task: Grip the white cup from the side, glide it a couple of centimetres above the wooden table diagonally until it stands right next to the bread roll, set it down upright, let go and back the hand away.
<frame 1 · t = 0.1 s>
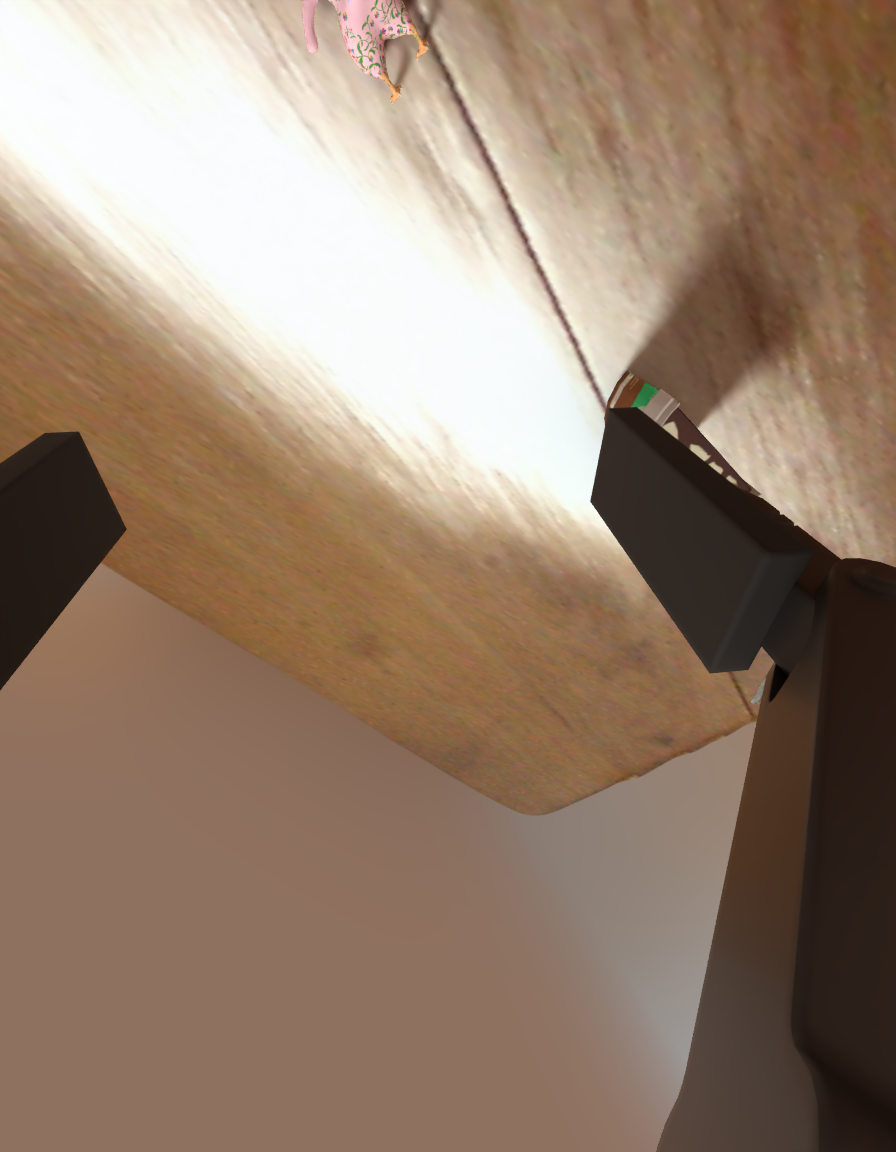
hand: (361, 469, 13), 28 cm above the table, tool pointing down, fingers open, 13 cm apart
food container: (630, 431, 43), on the table
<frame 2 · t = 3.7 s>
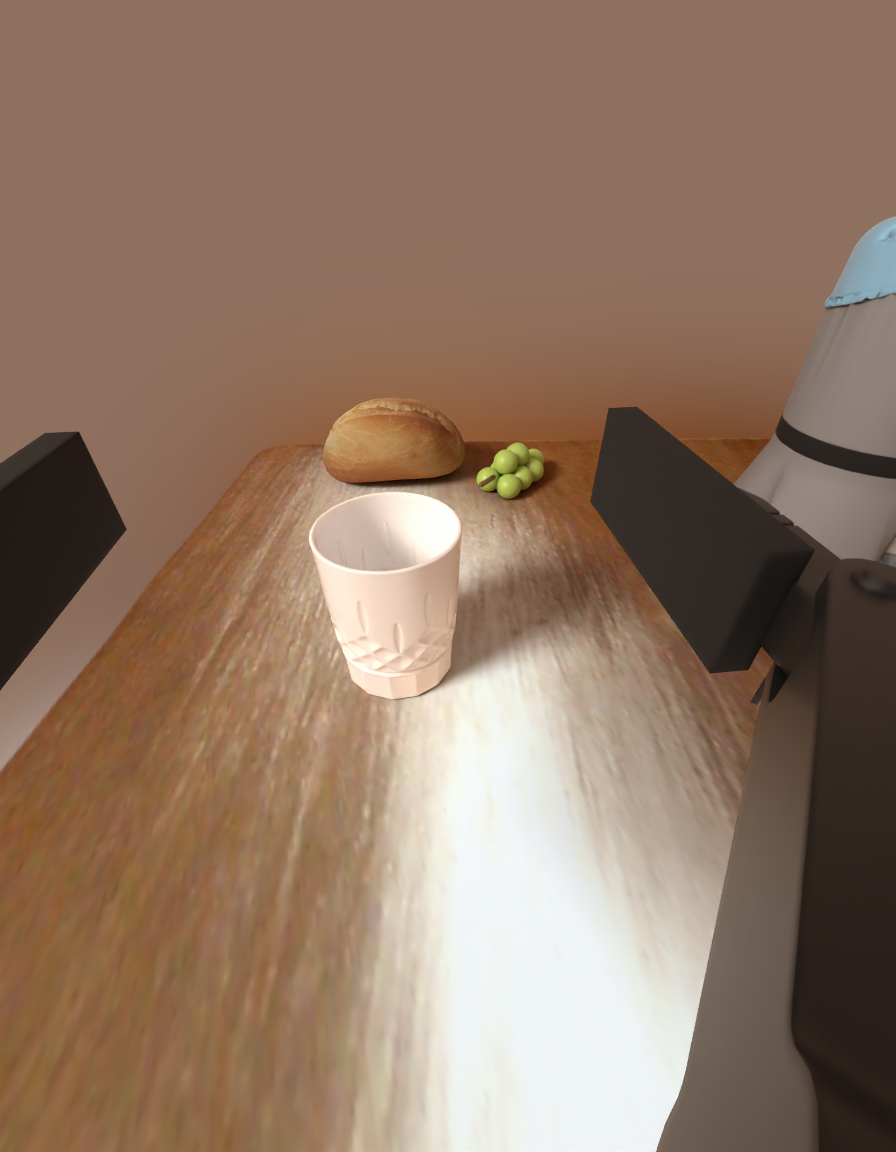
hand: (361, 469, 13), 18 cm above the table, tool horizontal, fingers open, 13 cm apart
bread roll: (396, 477, 52), on the table
white cup: (400, 660, 31), on the table
grapes: (515, 481, 51), on the table
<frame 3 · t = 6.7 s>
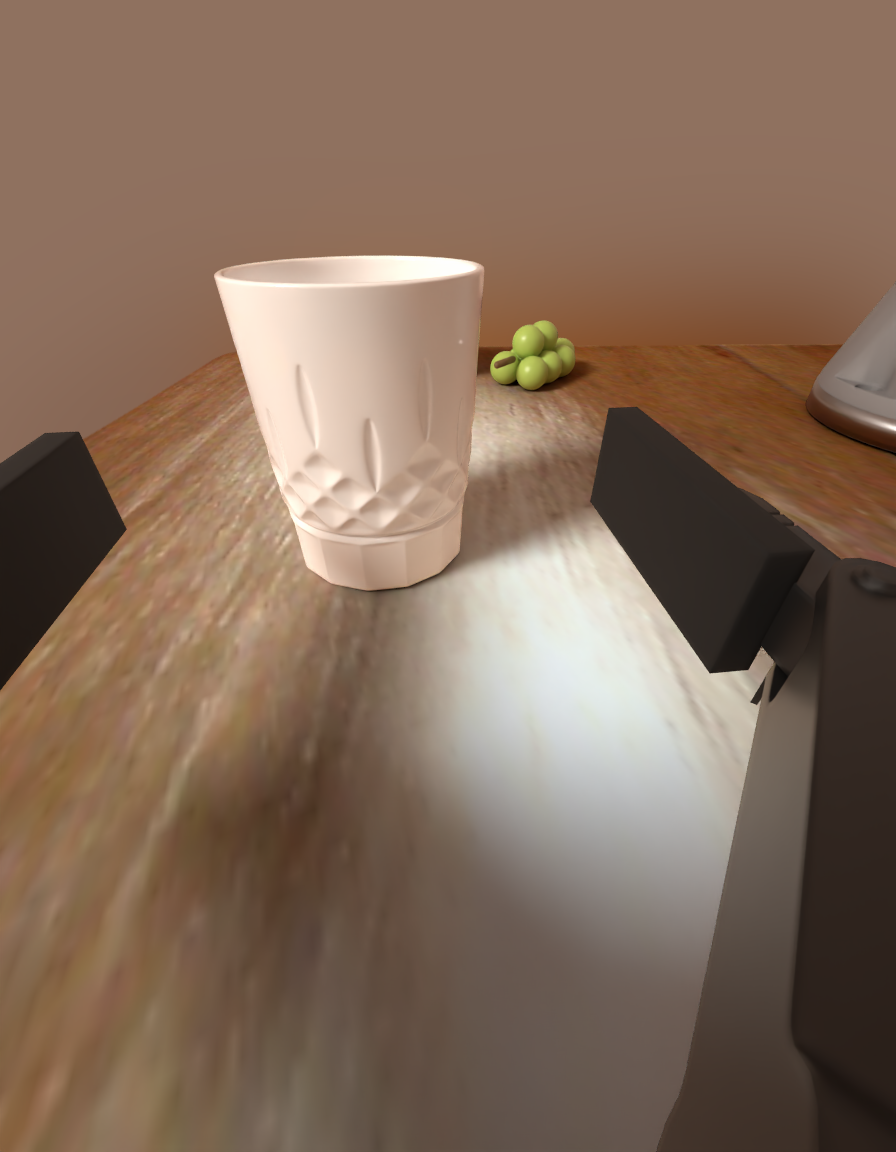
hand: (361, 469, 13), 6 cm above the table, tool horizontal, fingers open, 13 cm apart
white cup: (383, 546, 21), on the table
grapes: (538, 377, 40), on the table
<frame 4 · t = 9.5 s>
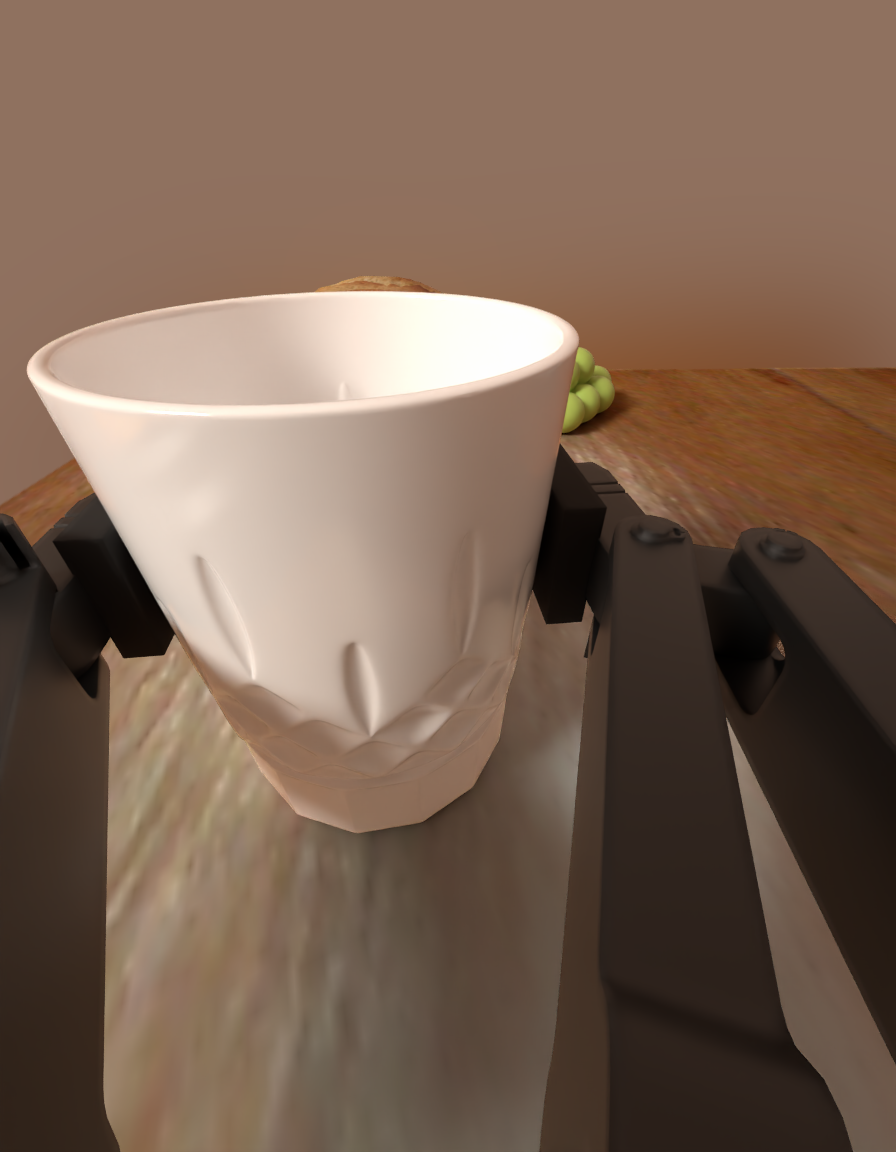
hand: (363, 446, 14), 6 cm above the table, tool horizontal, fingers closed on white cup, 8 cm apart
bread roll: (388, 409, 35), on the table
white cup: (383, 718, 14), on the table, touching gripper
grapes: (568, 413, 33), on the table
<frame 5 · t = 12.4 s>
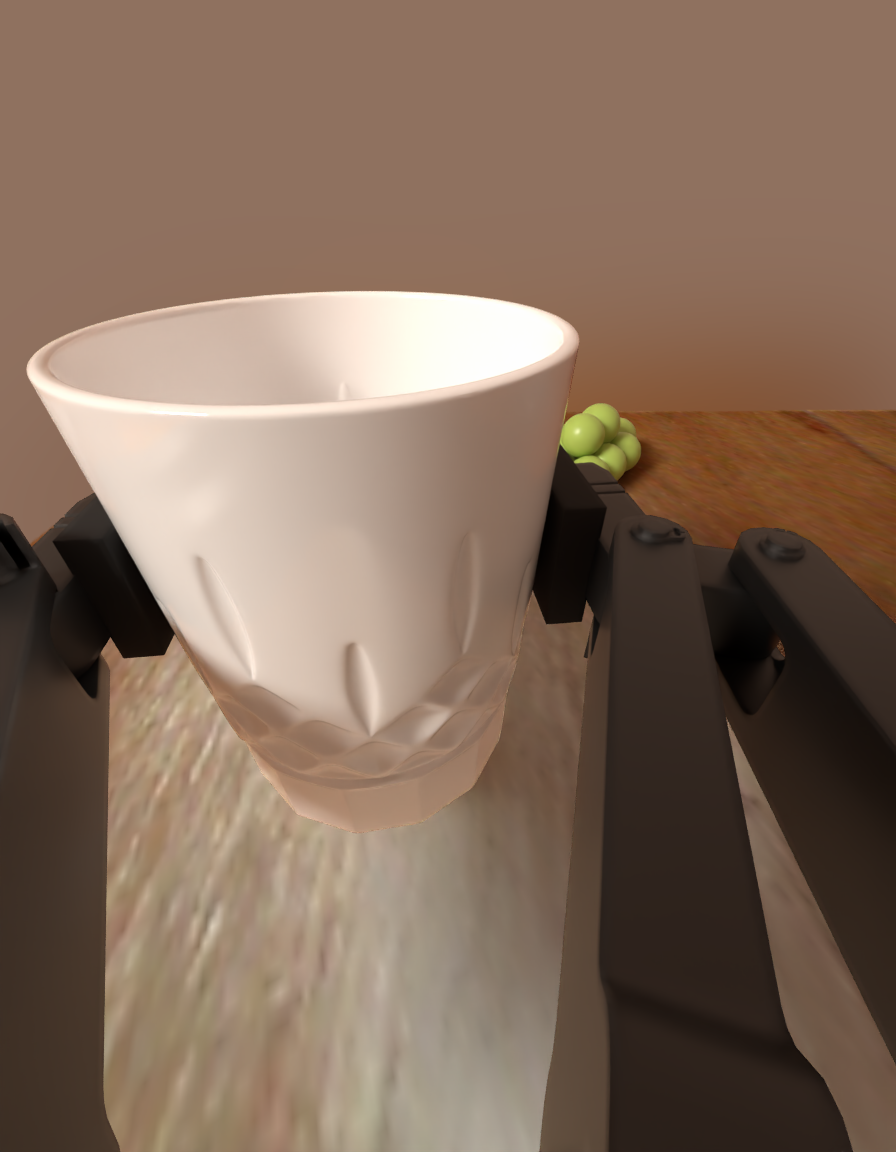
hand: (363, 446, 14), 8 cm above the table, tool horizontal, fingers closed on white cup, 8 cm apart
white cup: (383, 718, 14), point 2 cm above the table, touching gripper
grapes: (590, 471, 30), on the table
when the fingers open (6 cm above the table, at t = 15.6 s): white cup stays where it is, on the table.
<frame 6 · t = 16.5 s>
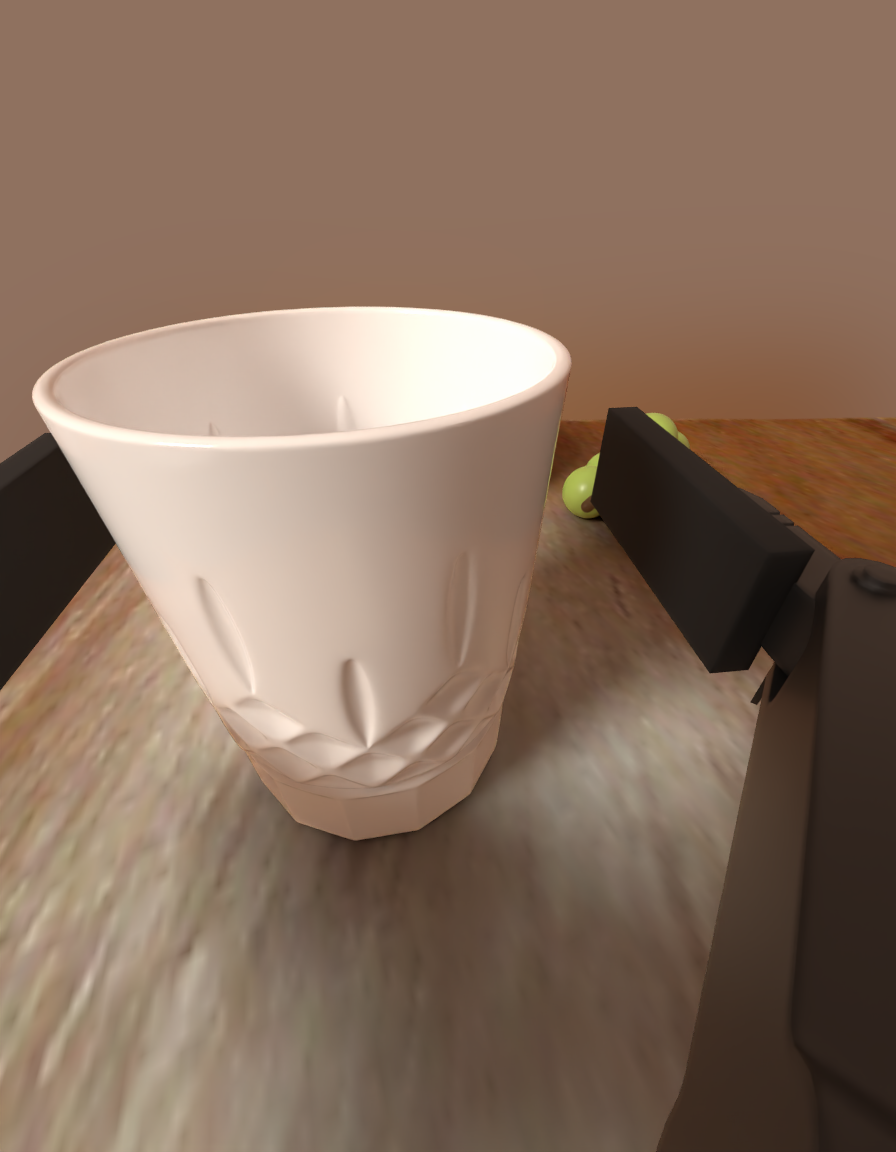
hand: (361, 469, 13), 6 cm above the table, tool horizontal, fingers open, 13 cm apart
white cup: (381, 725, 14), on the table
grapes: (635, 496, 24), on the table
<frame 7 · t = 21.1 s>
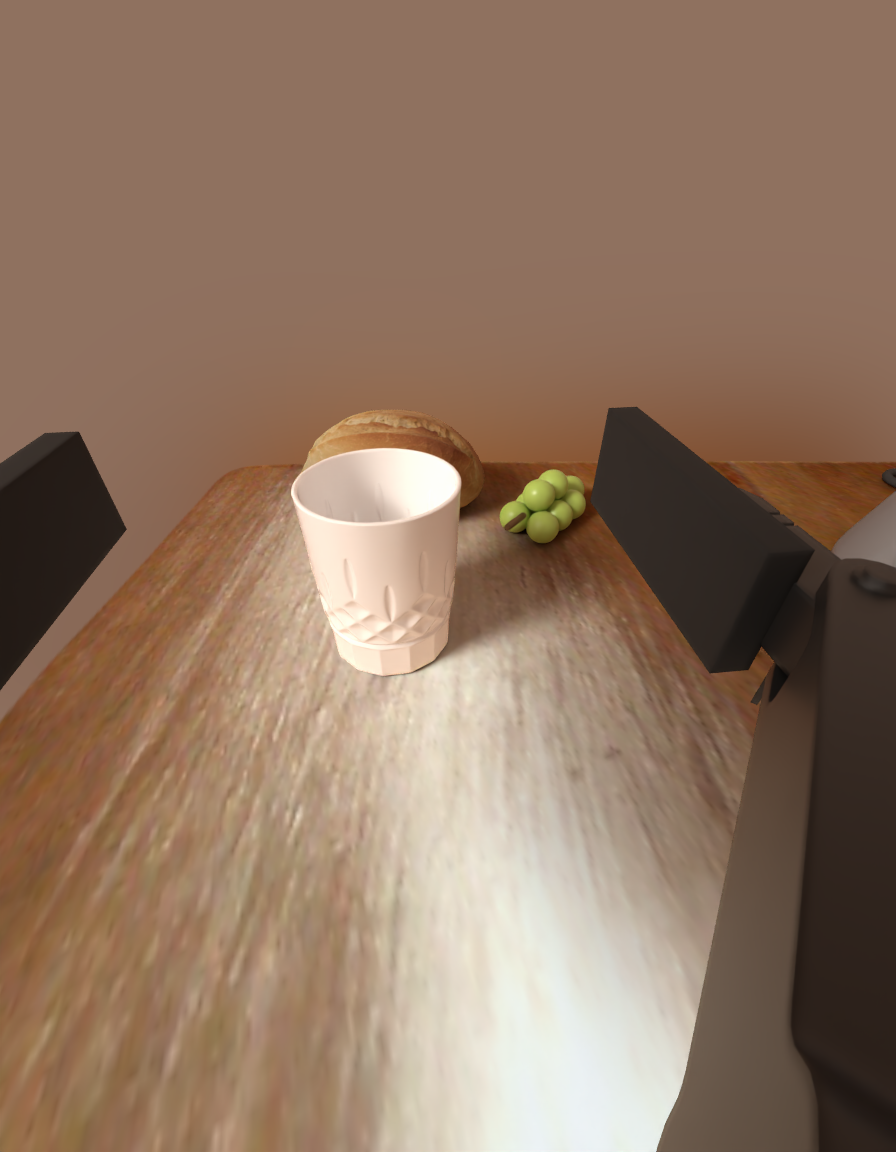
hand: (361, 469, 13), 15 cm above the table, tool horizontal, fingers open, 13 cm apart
bread roll: (395, 510, 41), on the table
white cup: (393, 636, 29), on the table
grapes: (547, 518, 39), on the table
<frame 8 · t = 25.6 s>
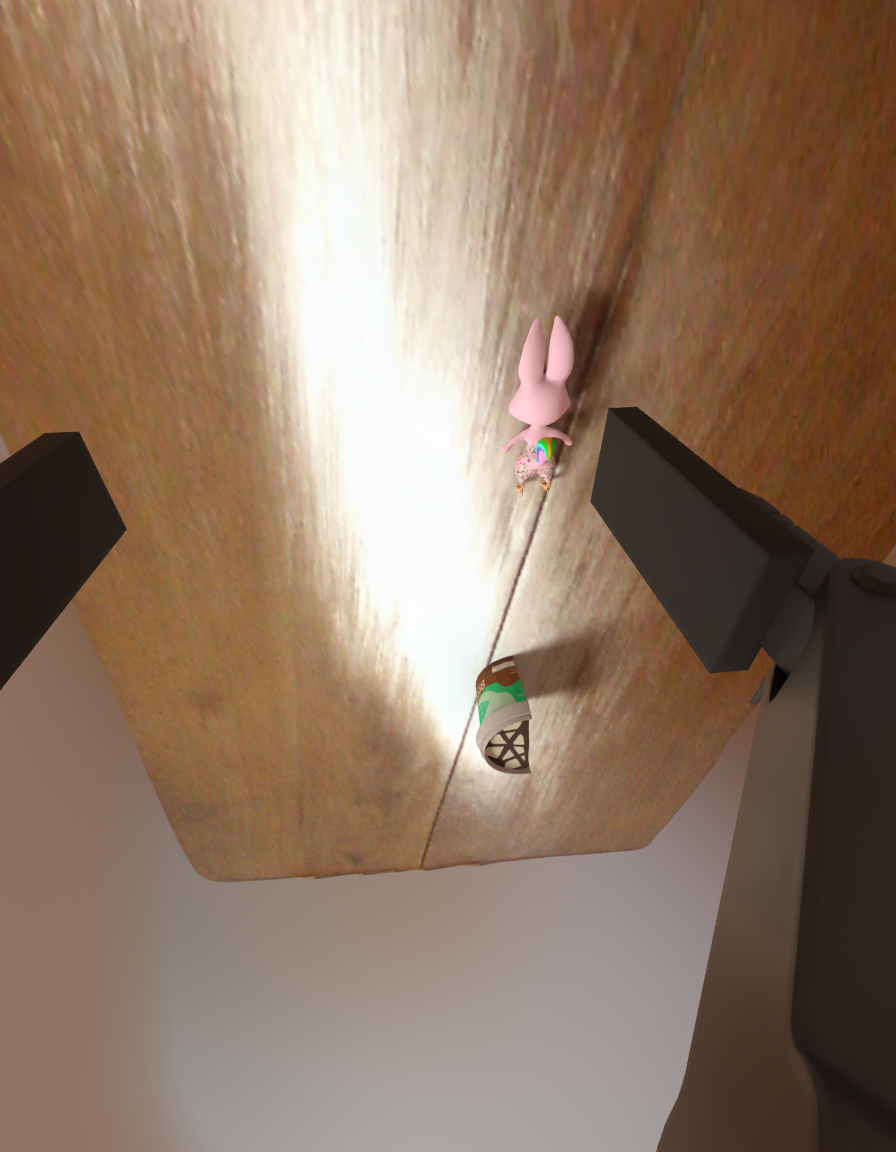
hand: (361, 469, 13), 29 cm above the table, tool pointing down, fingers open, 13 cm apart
food container: (489, 682, 64), on the table
rabbit figure: (533, 407, 42), on the table
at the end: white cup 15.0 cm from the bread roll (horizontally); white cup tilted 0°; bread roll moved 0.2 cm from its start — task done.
